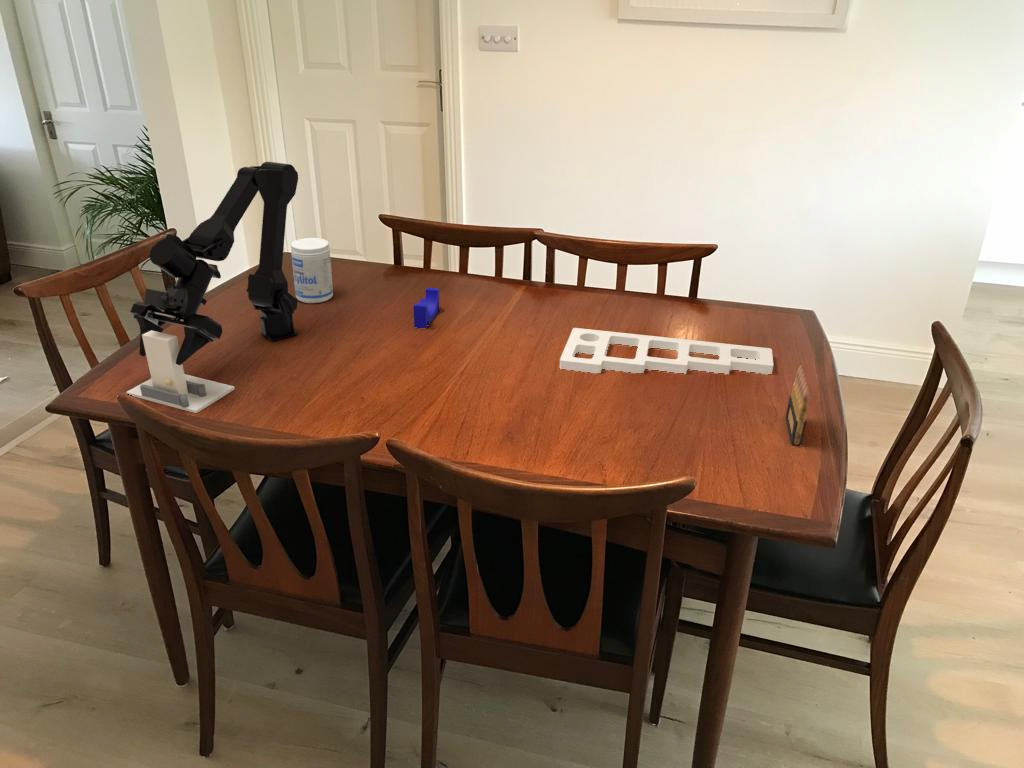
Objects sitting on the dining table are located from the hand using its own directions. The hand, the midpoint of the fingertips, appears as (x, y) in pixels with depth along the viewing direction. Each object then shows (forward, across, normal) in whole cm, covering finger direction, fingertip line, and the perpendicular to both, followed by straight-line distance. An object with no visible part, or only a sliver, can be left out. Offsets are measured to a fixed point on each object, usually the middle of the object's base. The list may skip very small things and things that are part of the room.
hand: (159, 360), depth 158 cm
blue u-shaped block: (-34, +26, +47) cm, 64 cm away
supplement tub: (-34, -6, +47) cm, 59 cm away
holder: (-35, +87, +48) cm, 105 cm away
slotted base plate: (+4, 0, +9) cm, 10 cm away
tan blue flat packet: (-22, +116, +35) cm, 123 cm away
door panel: (+5, 0, +7) cm, 8 cm away
